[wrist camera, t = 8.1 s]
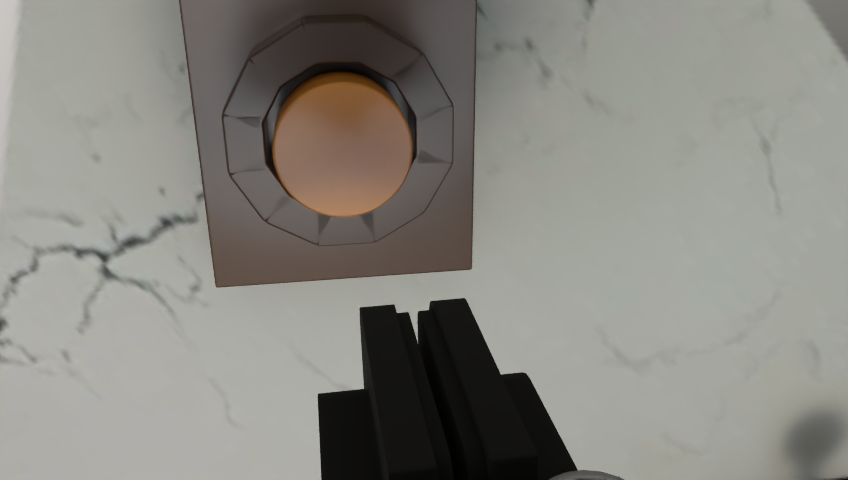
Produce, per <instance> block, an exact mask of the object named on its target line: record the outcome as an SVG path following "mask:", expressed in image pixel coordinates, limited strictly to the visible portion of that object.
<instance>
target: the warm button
mask: <svg viewBox="0 0 848 480" xmlns="http://www.w3.org/2000/svg"><path fill="white" fill-rule="evenodd" d="M272 152H273V161H274V166H275V169H276V173H277V175H278V177H279V179H280V181H281V183H282V184H283V186H284V188H285V189H286V190H287V191H288V193H289V194H290V195H291V196H292V197H293V198H294V199H295V200H296V201H298V202H299V203H300V204H302V205H303V206H305V207H306V208H308V209H310V210H312V211H314V212H317V213H320V214H323V215H327V216H333V217H352V216H358V215H362V214H365V213H368V212H371V211H373V210H375V209H377V208H379V207H381V206H382V205H383V204H385V203H386V202H388V201H389V200H390V199H391V198H392V197H393V196H394V195H395V194H396V193H397V192H398V190H399V189H400V188H401V186H402V185H403V183H404V182H405V180H406V177H407V175H408V173H409V170H410V167H411V162H412V157H413V143H412V136H411V132H410V129H409V126H408V123H407V121H406V119H405V117H404V115H403V114H402V112H401V110H400V108H399V106H398V104H397V102H396V101H395V100H394V98H393V97H392V95H391V94H390V93H389V92H388V91H387V90H386V89H385V88H384V87H382V86H381V85H380V84H378V83H377V82H375V81H374V80H372V79H370V78H368V77H366V76H363V75H360V74H357V73H352V72H342V71H336V72H328V73H323V74H320V75H317V76H314V77H312V78H310V79H308V80H306V81H304V82H303V83H302V84H300V85H299V86H297V87H296V88H295V89H294V90H293V91H292V92H291V93H290V94H289V96H288V97H287V98H286V99H285V101H284V103H283V104H282V106H281V108H280V110H279V113H278V115H277V119H276V123H275V130H274V137H273V145H272Z"/></svg>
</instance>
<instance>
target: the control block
mask: <svg viewBox="0 0 848 480" xmlns="http://www.w3.org/2000/svg"><path fill="white" fill-rule="evenodd" d="M179 4H180V12H181V20H182V28H183V35H184V43H185V51H186V59H187V67H188V74H189V82H190V90H191V98H192V106H193V113H194V121H195V129H196V137H197V145H198V152H199V160H200V168H201V176H202V184H203V191H204V199H205V207H206V215H207V223H208V230H209V238H210V246H211V254H212V262H213V269H214V277H215V285H216V287H231V286H245V285H259V284H274V283H288V282H302V281H316V280H330V279H344V278H358V277H372V276H386V275H400V274H415V273H429V272H443V271H457V270H470V269H472V236H473V183H474V130H475V78H476V25H477V0H179ZM336 71H342V72H352V73H357V74H360V75H363V76H366V77H368V78H370V79H372V80H374V81H375V82H377V83H378V84H380V85H381V86H382V87H384V88H385V89H386V90H387V91H388V92H389V93H390V94H391V95H392V97H393V98H394V100H395V101H396V102H397V104H398V106H399V108H400V110H401V112H402V114H403V115H404V117H405V119H406V121H407V123H408V126H409V129H410V132H411V136H412V143H413V157H412V162H411V167H410V170H409V173H408V175H407V177H406V180H405V182H404V183H403V185H402V186H401V188H400V189H399V190H398V192H397V193H396V194H395V195H394V196H393V197H392V198H391V199H390V200H389V201H388V202H386V203H385V204H383V205H382V206H381V207H379V208H377V209H375V210H373V211H371V212H368V213H365V214H362V215H358V216H352V217H333V216H327V215H323V214H320V213H317V212H314V211H312V210H310V209H308V208H306V207H305V206H303V205H302V204H300V203H299V202H298V201H296V200H295V199H294V198H293V197H292V196H291V195H290V194H289V193H288V191H287V190H286V189H285V188H284V186H283V184H282V183H281V181H280V179H279V177H278V175H277V173H276V169H275V166H274V161H273V152H272V145H273V137H274V130H275V123H276V119H277V115H278V113H279V110H280V108H281V106H282V104H283V103H284V101H285V99H286V98H287V97H288V96H289V94H290V93H291V92H292V91H293V90H294V89H295V88H296V87H297V86H299V85H300V84H302V83H303V82H304V81H306V80H308V79H310V78H312V77H314V76H317V75H320V74H323V73H328V72H336Z"/></svg>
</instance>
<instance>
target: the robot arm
mask: <svg viewBox="0 0 848 480" xmlns="http://www.w3.org/2000/svg"><path fill="white" fill-rule="evenodd" d="M360 327H361V344H362V361H363V377H364V389H360V390H350V391H341V392H331V393H321V394H318V411H319V433H320V455H321V477H322V480H624V479H622V478H620V477H617V476H614V475H611V474H607V473H604V472H599V471H588V470H579V471H578V470H577V468H576V466H575V464H574V462H573V460H572V458H571V456H570V455H569V453H568V451H567V449H566V447H565V445H564V443H563V441H562V439H561V437H560V435H559V434H558V432H557V430H556V428H555V426H554V424H553V422H552V420H551V418H550V416H549V414H548V413H547V411H546V409H545V407H544V405H543V403H542V401H541V399H540V397H539V395H538V393H537V391H536V390H535V388H534V386H533V384H532V382H531V380H530V378H529V377H528V375H527V374H526V373H523V372H522V373H512V374H503V375H501V374H500V372H499V370H498V368H497V366H496V363H495V361H494V359H493V357H492V355H491V353H490V350H489V348H488V346H487V344H486V342H485V340H484V337H483V335H482V333H481V331H480V329H479V327H478V324H477V322H476V320H475V318H474V316H473V314H472V311H471V309H470V307H469V305H468V303H467V301H466V299H465V298H461V299H450V300H439V301H431V302H430V307H429V310H427V311H418V343H417V339H416V336H415V333H414V329H413V326H412V322H411V319H410V316H409V313H408V312H405V313H396V309H395V306H394V305H383V306H372V307H361V308H360Z"/></svg>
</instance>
